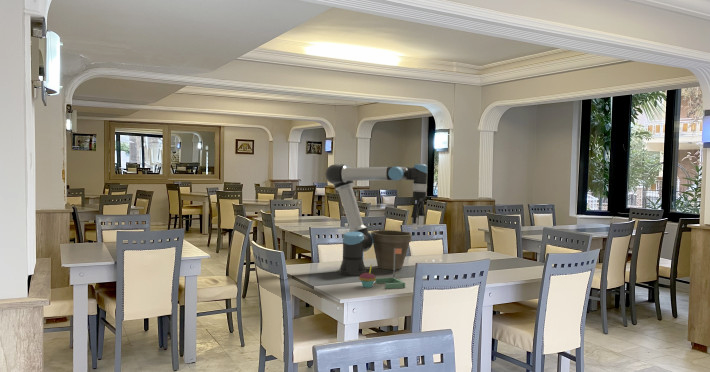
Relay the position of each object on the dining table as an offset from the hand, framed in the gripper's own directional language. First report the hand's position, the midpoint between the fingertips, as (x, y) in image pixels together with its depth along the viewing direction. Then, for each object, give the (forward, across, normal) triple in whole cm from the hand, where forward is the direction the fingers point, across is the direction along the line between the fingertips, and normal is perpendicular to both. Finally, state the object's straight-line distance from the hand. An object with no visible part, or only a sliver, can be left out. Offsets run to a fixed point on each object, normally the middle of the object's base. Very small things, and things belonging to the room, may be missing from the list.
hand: (417, 228), depth 321 cm
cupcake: (+27, -43, +14) cm, 53 cm away
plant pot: (+28, +14, +19) cm, 37 cm away
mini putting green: (+27, -33, +3) cm, 43 cm away
